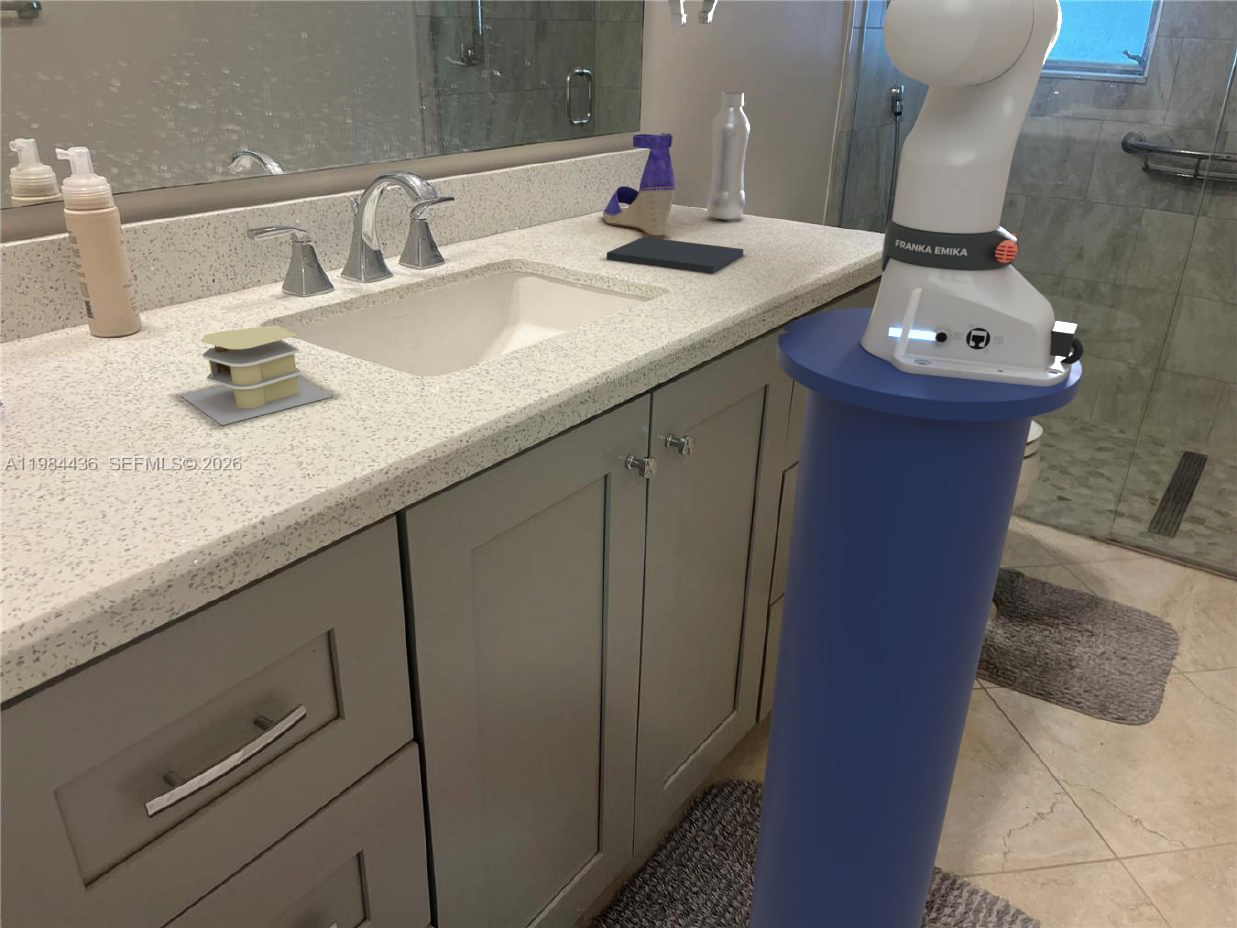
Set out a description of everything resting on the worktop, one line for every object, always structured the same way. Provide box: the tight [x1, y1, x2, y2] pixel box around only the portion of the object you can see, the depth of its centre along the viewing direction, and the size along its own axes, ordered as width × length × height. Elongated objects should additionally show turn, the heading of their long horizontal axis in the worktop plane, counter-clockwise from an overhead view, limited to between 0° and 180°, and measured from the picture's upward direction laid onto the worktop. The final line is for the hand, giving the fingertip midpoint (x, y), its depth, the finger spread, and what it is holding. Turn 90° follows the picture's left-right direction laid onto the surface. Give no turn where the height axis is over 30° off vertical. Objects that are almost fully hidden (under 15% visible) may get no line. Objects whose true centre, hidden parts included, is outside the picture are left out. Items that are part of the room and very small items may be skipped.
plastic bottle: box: [706, 91, 751, 221], centre depth 157 cm, size 6×7×20 cm
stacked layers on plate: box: [180, 324, 333, 426], centre depth 83 cm, size 10×9×6 cm
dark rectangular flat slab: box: [606, 236, 745, 274], centre depth 135 cm, size 16×12×1 cm
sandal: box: [602, 132, 676, 239], centre depth 151 cm, size 8×20×15 cm, turn 15°
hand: (691, 25), depth 151 cm, fingers open, 8 cm apart
